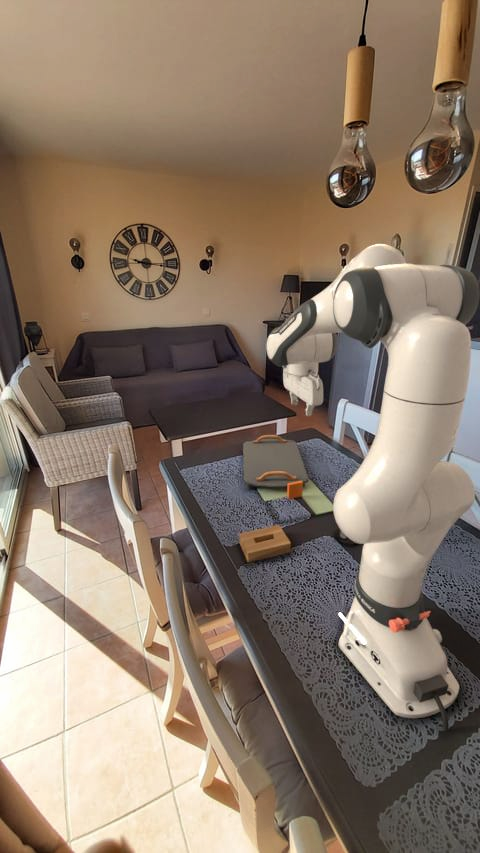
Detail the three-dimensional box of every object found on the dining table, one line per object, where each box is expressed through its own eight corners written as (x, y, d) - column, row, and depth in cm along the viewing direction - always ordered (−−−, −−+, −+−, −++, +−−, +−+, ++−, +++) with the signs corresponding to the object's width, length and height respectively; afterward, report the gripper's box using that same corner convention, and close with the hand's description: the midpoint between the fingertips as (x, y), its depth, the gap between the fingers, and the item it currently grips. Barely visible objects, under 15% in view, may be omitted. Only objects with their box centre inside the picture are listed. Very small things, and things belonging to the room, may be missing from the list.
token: (302, 497, 120) (303, 482, 118) (288, 500, 119) (289, 485, 117) (300, 495, 121) (301, 480, 119) (287, 498, 120) (287, 483, 118)
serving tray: (311, 492, 123) (311, 476, 120) (243, 494, 123) (242, 478, 121) (295, 443, 158) (295, 430, 156) (242, 445, 159) (242, 432, 156)
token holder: (290, 554, 97) (290, 542, 95) (248, 565, 94) (247, 553, 92) (279, 535, 104) (279, 524, 102) (239, 545, 101) (238, 533, 99)
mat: (337, 510, 114) (337, 509, 114) (278, 523, 109) (278, 522, 109) (308, 478, 132) (308, 477, 131) (256, 489, 126) (256, 488, 126)
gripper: (330, 374, 99) (327, 420, 104) (297, 358, 117) (296, 398, 122) (309, 376, 97) (307, 423, 103) (279, 360, 115) (279, 401, 120)
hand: (301, 409), depth 112 cm, fingers open, 8 cm apart
